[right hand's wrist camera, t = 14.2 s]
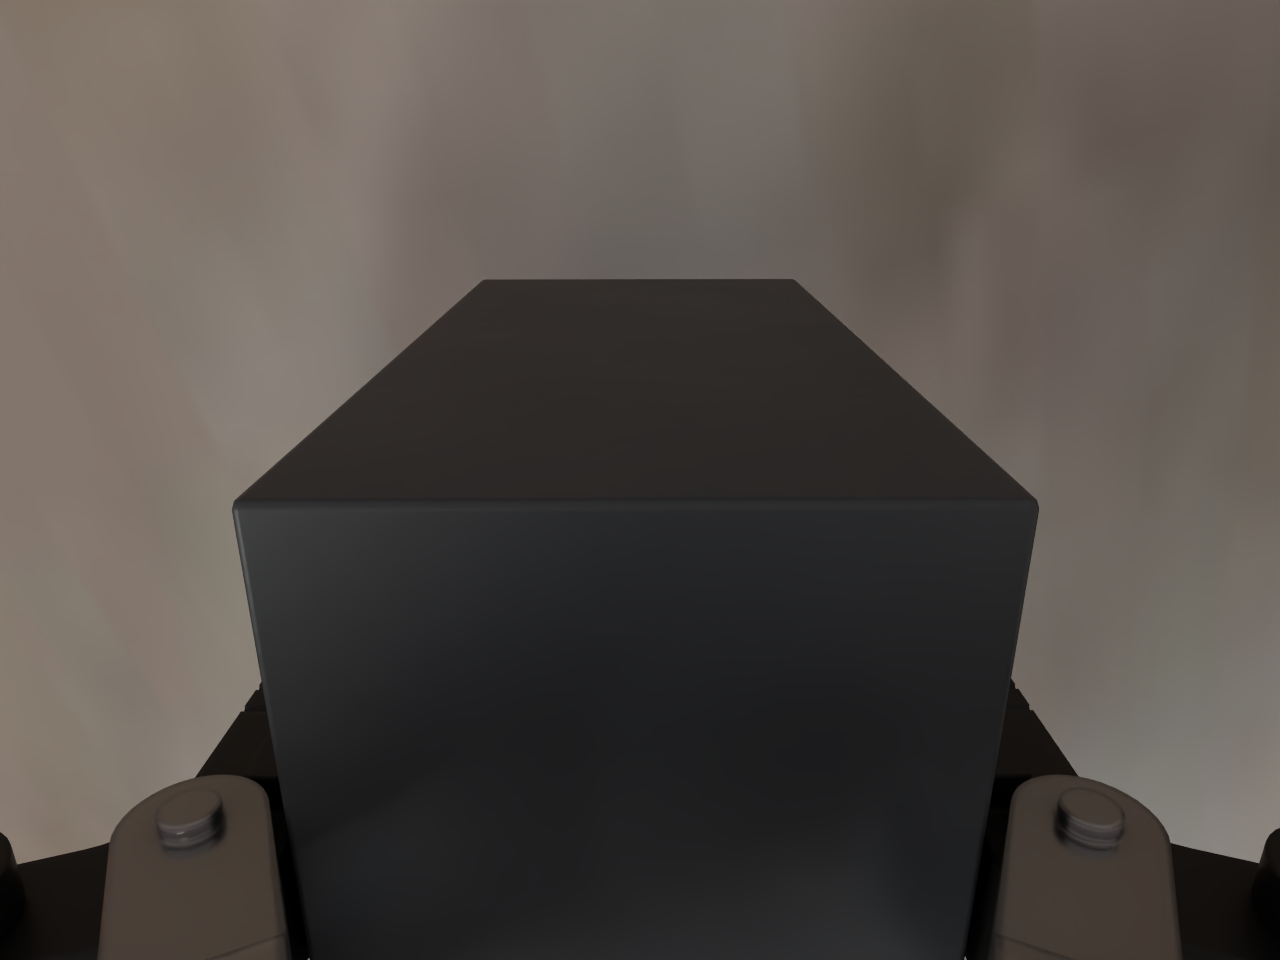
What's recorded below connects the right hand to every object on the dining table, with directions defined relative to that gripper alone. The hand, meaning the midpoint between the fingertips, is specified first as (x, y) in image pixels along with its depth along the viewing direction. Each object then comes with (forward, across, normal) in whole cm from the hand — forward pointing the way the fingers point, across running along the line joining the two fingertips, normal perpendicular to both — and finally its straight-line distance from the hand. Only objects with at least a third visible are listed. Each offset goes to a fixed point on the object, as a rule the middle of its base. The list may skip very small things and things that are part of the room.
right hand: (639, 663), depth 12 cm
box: (+7, 0, -8) cm, 11 cm away
